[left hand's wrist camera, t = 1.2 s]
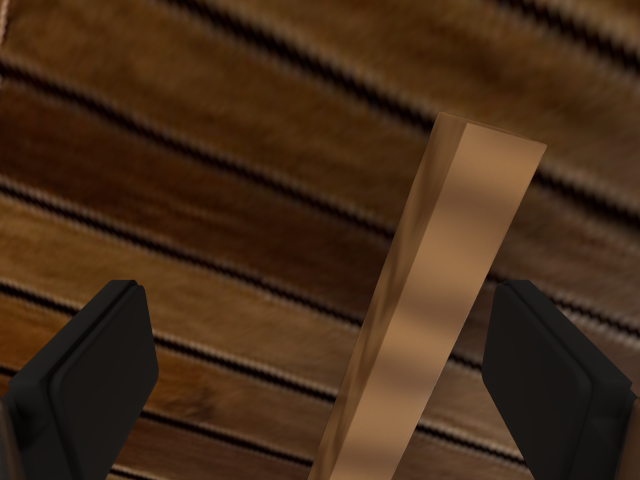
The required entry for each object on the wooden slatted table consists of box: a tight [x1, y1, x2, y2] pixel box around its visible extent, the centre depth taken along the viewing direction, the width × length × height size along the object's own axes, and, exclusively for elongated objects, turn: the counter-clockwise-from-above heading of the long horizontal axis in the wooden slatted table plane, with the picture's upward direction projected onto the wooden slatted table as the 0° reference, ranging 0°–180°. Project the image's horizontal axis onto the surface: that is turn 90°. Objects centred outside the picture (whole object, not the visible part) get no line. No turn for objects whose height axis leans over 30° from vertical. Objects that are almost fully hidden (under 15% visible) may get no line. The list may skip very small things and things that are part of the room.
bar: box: [307, 111, 547, 480], centre depth 35 cm, size 50×5×6 cm, turn 165°
